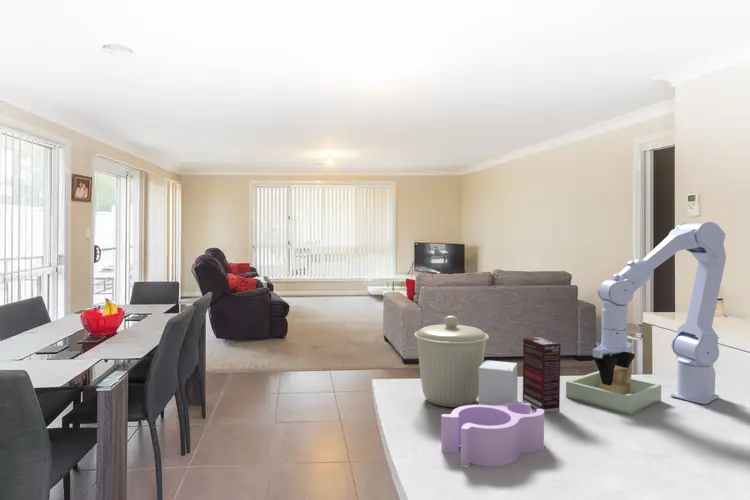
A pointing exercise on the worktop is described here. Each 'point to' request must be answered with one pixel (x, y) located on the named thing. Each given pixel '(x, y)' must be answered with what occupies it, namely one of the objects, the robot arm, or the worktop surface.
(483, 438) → the clip
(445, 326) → the canister
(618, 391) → the oak block
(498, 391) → the supplement box
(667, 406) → the worktop surface
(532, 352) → the supplement box
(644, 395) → the bin
